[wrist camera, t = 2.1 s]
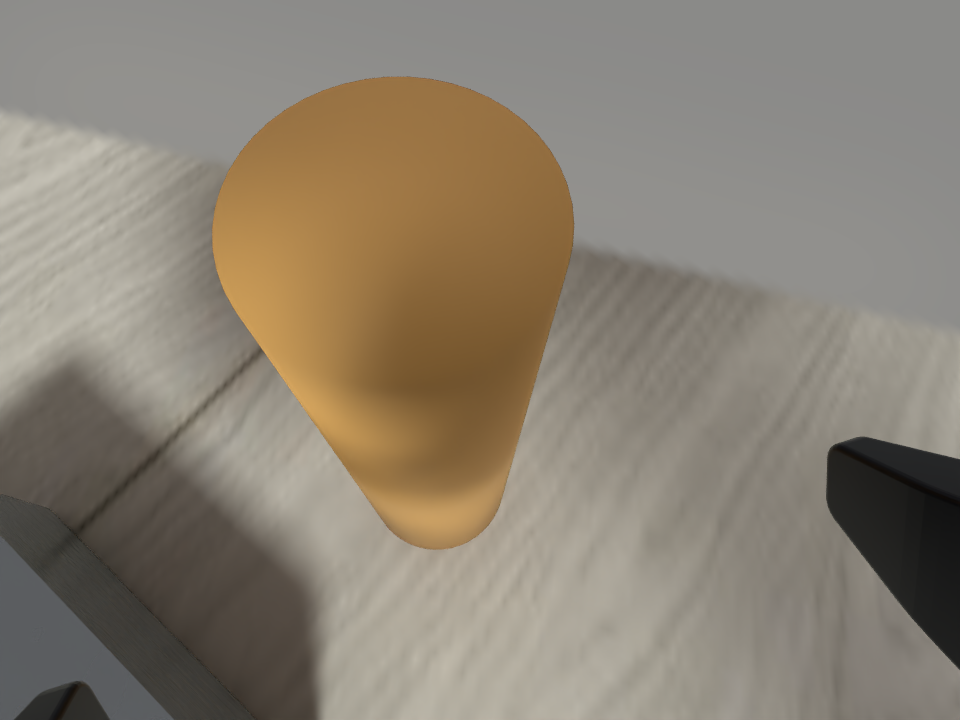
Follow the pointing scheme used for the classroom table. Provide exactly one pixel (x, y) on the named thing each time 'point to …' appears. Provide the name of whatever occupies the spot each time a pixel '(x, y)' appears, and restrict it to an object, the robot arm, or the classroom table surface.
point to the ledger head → (89, 631)
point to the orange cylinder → (402, 285)
